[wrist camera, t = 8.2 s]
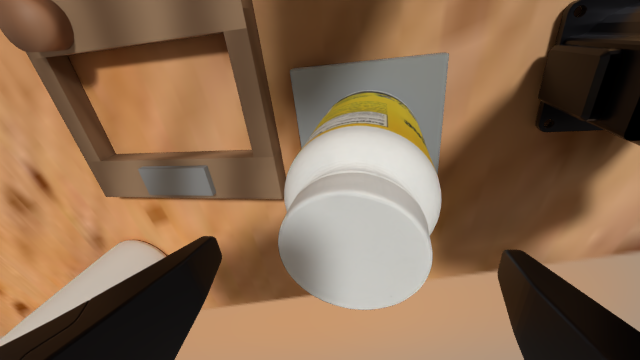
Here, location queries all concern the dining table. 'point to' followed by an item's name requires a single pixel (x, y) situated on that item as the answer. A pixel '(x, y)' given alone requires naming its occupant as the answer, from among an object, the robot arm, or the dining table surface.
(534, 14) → the dining table surface
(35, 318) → the milk bottle
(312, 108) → the grey pad
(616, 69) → the robot arm
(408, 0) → the dining table surface
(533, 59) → the dining table surface
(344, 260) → the pill bottle
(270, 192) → the wooden frame
